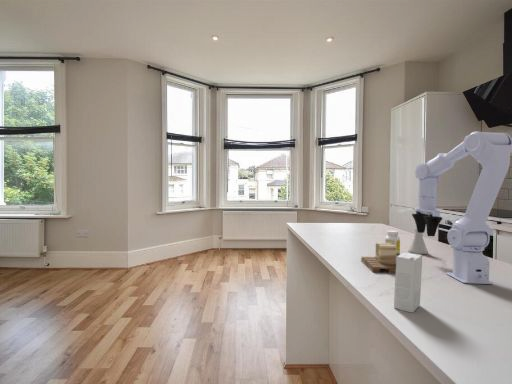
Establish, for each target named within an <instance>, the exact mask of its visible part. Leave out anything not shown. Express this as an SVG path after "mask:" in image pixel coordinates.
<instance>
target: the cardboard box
mask: <svg viewBox="0 0 512 384" xmlns="http://www.w3.org/2000/svg"><path fill="white" fill-rule="evenodd" d="M374 257H375V260H376V261H378V262H379V263H380V264H395V263H396V258H397V257H396V246H395V245H393V244H391V243H385V242H375V256H374Z"/></svg>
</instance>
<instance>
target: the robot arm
mask: <svg viewBox="0 0 512 384" xmlns="http://www.w3.org/2000/svg"><path fill="white" fill-rule="evenodd" d="M511 154H512V136H510V134H509V133H506V132H487V131H486V132H484V131H472V132H471V133H469V134H468V135H466V136H465V137H464V139H463V141H462V142H460V144H458V145H457V146H456V147H455V146H454V148H453V149H451V150H450V151H449V152H447V153H446V152H439V153H437V155H436V156H435V157H434V158H432V159H429V160H428V161H427V162H426V163H421V162H420V163H418V165H416V167H415V170H414V175H415V177H416V178H417V179H418V185H417V187H418V189H417V190H418V192H417V207H414V213H412V214H411V217H413V219H414V222H415V227H416V228H417V231H418V233H422V234H424V233H425V232H426V235H427V236H428V237H435V236H436V233H437V229H438V227H439V225H440V223H441V222H442V220H443V217H442V216H440V215H441V211H440V210H438V209H436V207H437V185H438V184H439V180H440V177H441V175H442V174H443V173H445V172H446V171H448V170H450V169H451V168H453V167H454V166H455V165H454V164H455V163H456V162H457V161H459V160H461V159H464V158H466V157H468V156H470V155H471V157H472V158H474V160H475V161H476V162H477V163H478V164H480V166H481V167H482V169H481V172H480V173H479V177H478V179H477V182H476V184H475V187H474V190H473V192H472V195H471V197H470V199H469V202H468V204H467V208H466V211H465V213H464V215H463V217H461V218H459V219H457V220H456V221H454V223H453V225H452V227H451V228H449V230H448V232H447V236H446V239H447V242H448V244H449V245H450V248H452V249H453V255H452V256H453V257H452V272H451V271H447V272H446V275H448V276H450V277H452V278H454V279H456V281H457V280H458V281H459V282H461V283H463V284H483V285H493V282H492V281H490V260H489V258H488V257H487V256H486V255H484V254H483V251H485V248H486V247H488V245H489V244H490V237H491V236H490V234H491V231H492V228H491V226H489V224H487V221H488V218H489V216H490V213H491V211H492V208H493V206H494V204H495V202H496V200H497V197H498V194H499V193H500V190H501V187H502V186H503V183H504V182H505V181H504V180H505V178H506V176H507V173H508V171H509V168H510V165H511V164H510V162H511Z"/></svg>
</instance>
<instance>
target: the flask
mask: <svg viewBox="0 0 512 384" xmlns="http://www.w3.org/2000/svg"><path fill="white" fill-rule="evenodd" d="M413 230H414V235H413V238H412V241H411V243H410V246H409V248H408V250H407V253H408V252H409V253H411V254H418V255H426V254H429V251H428V249H427V245H426V243H425V241H424V240H425V239H424V236H423V233H418V231H417V227H416V228H414V229H413Z"/></svg>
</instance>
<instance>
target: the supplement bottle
mask: <svg viewBox="0 0 512 384" xmlns="http://www.w3.org/2000/svg"><path fill="white" fill-rule="evenodd" d="M386 233H387V235H386V236H385V237H384V241H385V242H384V243H391V244H393V245H395V246H396V258H397V257H398V256H399V255H401V253H400V252H401V250H400V249H401V238H400V236H399V231H398V230H387V232H386Z"/></svg>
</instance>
